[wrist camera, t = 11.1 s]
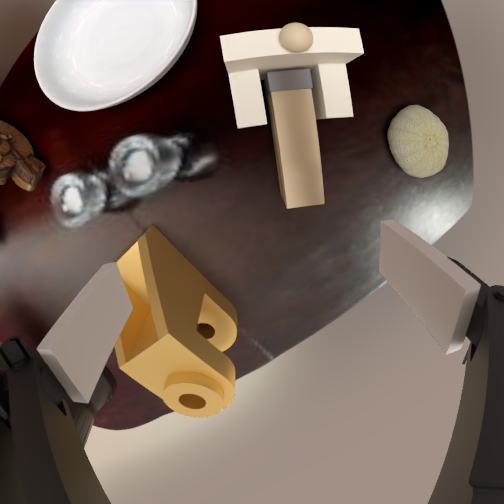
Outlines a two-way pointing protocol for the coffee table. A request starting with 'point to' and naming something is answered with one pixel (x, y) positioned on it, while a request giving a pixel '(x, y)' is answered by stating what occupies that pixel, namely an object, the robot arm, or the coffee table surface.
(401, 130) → the sea urchin shell
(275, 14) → the coffee table surface
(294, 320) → the coffee table surface
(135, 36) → the serving bowl
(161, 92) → the coffee table surface
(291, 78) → the rail
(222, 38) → the white notched block
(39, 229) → the coffee table surface
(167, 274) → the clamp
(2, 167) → the wooden carving
